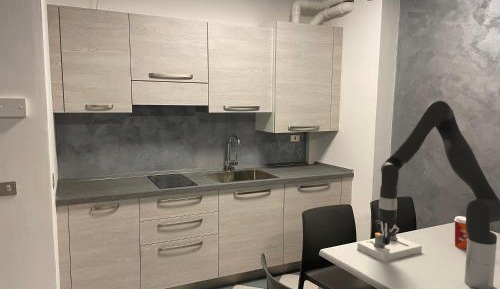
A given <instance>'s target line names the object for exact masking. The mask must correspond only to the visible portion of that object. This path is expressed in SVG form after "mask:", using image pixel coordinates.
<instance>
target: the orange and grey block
mask: <svg viewBox="0 0 500 289" xmlns="http://www.w3.org/2000/svg"><path fill="white" fill-rule="evenodd" d="M374 237H375V238H374V239H375V244H373V245H374V246H376V247H383V246H386V245H384V244H383V236H382V234H380V233H379V232H375V233H374Z"/></svg>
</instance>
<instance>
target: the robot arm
mask: <svg viewBox="0 0 500 289" xmlns="http://www.w3.org/2000/svg"><path fill="white" fill-rule="evenodd" d="M434 128H436V130H437V132H438V133H439V135H440V137H441V140H442V144H443V148H444V152H445V155H446V158H447V160H448V162H449V165H450V167H451V169H452V171H453V173H455V174H456V176H457V177H458V178H459V179H461V180H462V181H463V182H464V183H465V184H466V185H467V186H468V187H469V189H470V190H471V191H472V193H473V195H474V197H475V198H473V199H471V200H469V202H468V203H467V205H466V209H465V210H466V211H465V217H466V231H467V234H468V239H467V249H466V255H465V257H466V258H465V266H464V267H465V268H464V269H465V270H464V282H465V284H467V285H468V287H469V288H474V289H493V288H494V282H495V280H494V279H495V268H496V267H495V266H496V252H497V242H498V236H497V235H496V233H494V232H492V231H491V223H495V222H500V199H499V197H498V196H497V194H496V193H495V191H494V190H493V188H492V187H491V185H490V183H489V181H488V180H487V177H486V176H485V174H484V171H483V170H482V168H481V166H480V164H479V162H478V159H477V157H476V155H475V154H474V151H473V150H472V147H471V146H470V144H469V142H468V141H467V140H466V138H465V136H464V135H463V133H462V132H461V130H460V127H459V126H458V122H457V119H456V116H455V114H454V110H453V108H452V107H451V106H450V105H449V104H448V103H447V102H446V101H443V100H435V101H433V102H431V103H430V104H429V105H428V106H427V107H426V109H425V111H424V112H423V114H422V116H421V117H420V119H419V120H418V121H417V123H416V125H415V126H414V128H413V129H412V131H411V132H410V133H409V135H408V136H407V137H406V138H405V139H404V140H403V142H402V143H401V144H400V145H399V146H398V148H397V149H396V150H395V151H394V153H392V154H391V155H390V156H389V157H388V158H387V159H386V160H385V161H384V163H383V164H382V165H381V167H380V172H381V185H380V190H379V191H380V192H379V200H378V220H374V224H375V227H376V229H377V231H378V233H380V234H382V236H383V244H384V245H389V244H390V237H394V236H395V235H396V236H397V234H398V233H399V232H400V231H401V228H400V227H398V226H397V222H396V219H397V212H398V199H397V198H398V184H399V173H400V172H399V171H400V169H402V167H403V166H404V165H406V164H408V163H409V162H410V161H411V160H412V159H413V158H414V156H415V155H416V154H417V153H418V151H419V150H420V148H421V147H422V145H423V143H424V142H425V140H426V139H427V137H428V135H429V133H430V132H431V131H432V130H433V129H434Z"/></svg>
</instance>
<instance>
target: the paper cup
mask: <svg viewBox="0 0 500 289" xmlns="http://www.w3.org/2000/svg"><path fill="white" fill-rule="evenodd" d="M467 239H468V234H467V231H466V216H462V215H461V216H459V215H458V216H455V217H454V246H455V247H456V248H458V249H463V250H467Z"/></svg>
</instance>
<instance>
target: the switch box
mask: <svg viewBox="0 0 500 289" xmlns="http://www.w3.org/2000/svg"><path fill="white" fill-rule="evenodd" d="M396 237H397V238H398V239H396V240H392V241H391V240H390V244H389V245H386V246H383V247H376V246H374V245H373V244H375V238H372V239H368V240H364V241H358V242H357V250H359V251H361V252H363V253H366V254H367V255H369V256H371V257H373V258H375V259H377V260H379V261H381V262H387V261H392V260H395V259H396V260H397V259H399V258H404V257H408V256H412V255H415V254H419V253H422V251H423V250H422V248H423V246H422V245H421V244H417V243H416V242H413V241H412V240H411V241H410V240H408V239H406V238H403V237H401V236H397V235H396Z"/></svg>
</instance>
